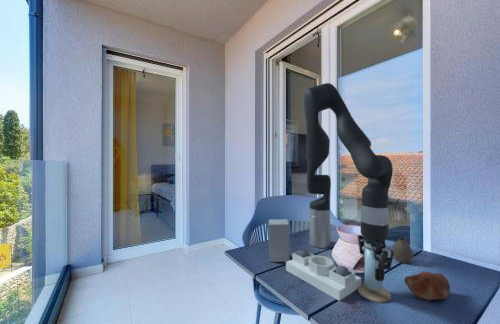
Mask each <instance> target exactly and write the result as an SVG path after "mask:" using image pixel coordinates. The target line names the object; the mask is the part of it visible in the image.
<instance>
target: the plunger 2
mask: <svg viewBox="0 0 500 324" xmlns="http://www.w3.org/2000/svg"><path fill="white" fill-rule="evenodd" d="M348 270H349V267H347V266H345V265H336V273H337V274H339V275H341V276H343V277H346V276H347V275H348Z"/></svg>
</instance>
